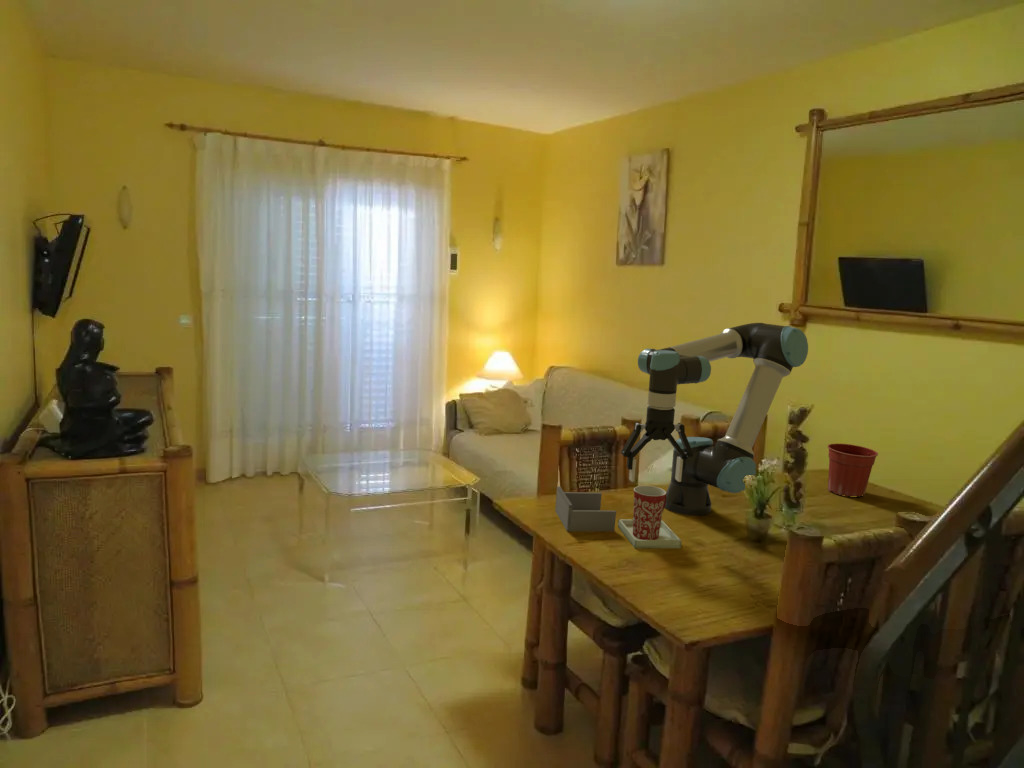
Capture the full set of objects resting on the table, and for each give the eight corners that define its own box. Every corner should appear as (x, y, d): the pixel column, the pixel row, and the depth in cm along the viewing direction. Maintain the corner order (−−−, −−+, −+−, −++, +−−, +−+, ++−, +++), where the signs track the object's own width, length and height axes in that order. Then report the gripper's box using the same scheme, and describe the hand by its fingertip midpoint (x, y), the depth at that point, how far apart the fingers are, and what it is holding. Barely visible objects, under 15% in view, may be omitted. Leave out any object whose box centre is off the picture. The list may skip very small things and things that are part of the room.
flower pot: (882, 499, 256) (889, 455, 253) (842, 501, 252) (849, 456, 249) (849, 484, 272) (855, 443, 269) (811, 486, 267) (817, 443, 265)
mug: (649, 544, 201) (654, 497, 198) (623, 534, 207) (627, 488, 205) (675, 534, 209) (679, 489, 207) (649, 524, 216) (653, 481, 213)
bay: (599, 511, 227) (601, 487, 225) (614, 531, 211) (616, 505, 209) (555, 510, 225) (557, 486, 223) (567, 531, 209) (569, 505, 207)
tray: (660, 526, 217) (661, 519, 216) (680, 548, 201) (681, 540, 201) (617, 526, 215) (618, 519, 214) (634, 548, 199) (635, 540, 199)
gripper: (698, 404, 207) (692, 476, 211) (613, 403, 203) (608, 476, 207) (709, 410, 200) (702, 484, 203) (621, 409, 196) (615, 484, 200)
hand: (654, 480), depth 205 cm, fingers open, 13 cm apart
